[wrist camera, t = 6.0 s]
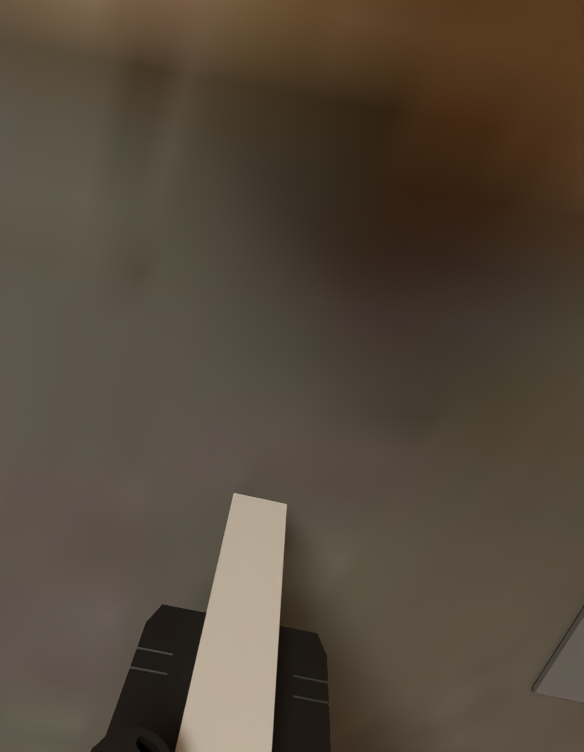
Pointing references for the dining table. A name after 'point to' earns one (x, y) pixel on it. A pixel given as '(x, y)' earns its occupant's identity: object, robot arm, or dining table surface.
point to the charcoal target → (566, 667)
